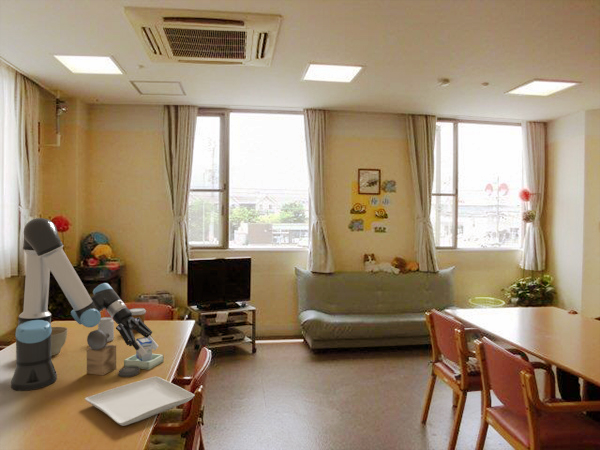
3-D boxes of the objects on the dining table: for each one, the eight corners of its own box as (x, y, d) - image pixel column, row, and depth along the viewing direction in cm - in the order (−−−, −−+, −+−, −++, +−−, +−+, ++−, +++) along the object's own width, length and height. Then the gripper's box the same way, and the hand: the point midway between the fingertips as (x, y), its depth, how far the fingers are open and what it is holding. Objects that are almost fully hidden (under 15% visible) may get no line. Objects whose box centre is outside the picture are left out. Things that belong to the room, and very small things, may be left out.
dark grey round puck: (130, 378, 168) (130, 374, 168) (114, 375, 170) (114, 372, 170) (143, 370, 176) (143, 367, 176) (127, 368, 178) (127, 365, 178)
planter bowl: (30, 351, 200) (29, 329, 200) (68, 346, 207) (68, 325, 207) (25, 362, 186) (25, 338, 185) (67, 356, 193) (66, 333, 193)
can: (107, 343, 213) (107, 320, 213) (94, 342, 214) (94, 319, 214) (116, 339, 220) (116, 316, 220) (104, 338, 222) (104, 316, 222)
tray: (148, 369, 177) (148, 362, 177) (124, 366, 180) (124, 359, 180) (163, 361, 187) (163, 354, 187) (139, 358, 191) (139, 352, 191)
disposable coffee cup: (127, 329, 239) (127, 308, 239) (145, 327, 243) (145, 307, 243) (128, 333, 230) (128, 312, 230) (146, 331, 234) (146, 310, 234)
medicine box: (135, 357, 185) (135, 338, 185) (145, 355, 188) (145, 336, 188) (142, 362, 179) (142, 342, 179) (152, 360, 182) (152, 340, 182)
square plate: (196, 404, 145) (196, 393, 145) (119, 435, 125) (119, 422, 125) (156, 383, 163) (156, 373, 163) (83, 407, 143) (83, 396, 143)
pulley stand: (102, 375, 171) (102, 331, 170) (86, 373, 173) (86, 330, 172) (116, 368, 178) (116, 326, 178) (101, 366, 181) (100, 325, 180)
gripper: (108, 312, 176) (140, 353, 172) (139, 302, 196) (169, 339, 192) (97, 323, 178) (129, 364, 173) (130, 312, 198) (159, 349, 193)
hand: (150, 351), depth 183 cm, fingers open, 8 cm apart
